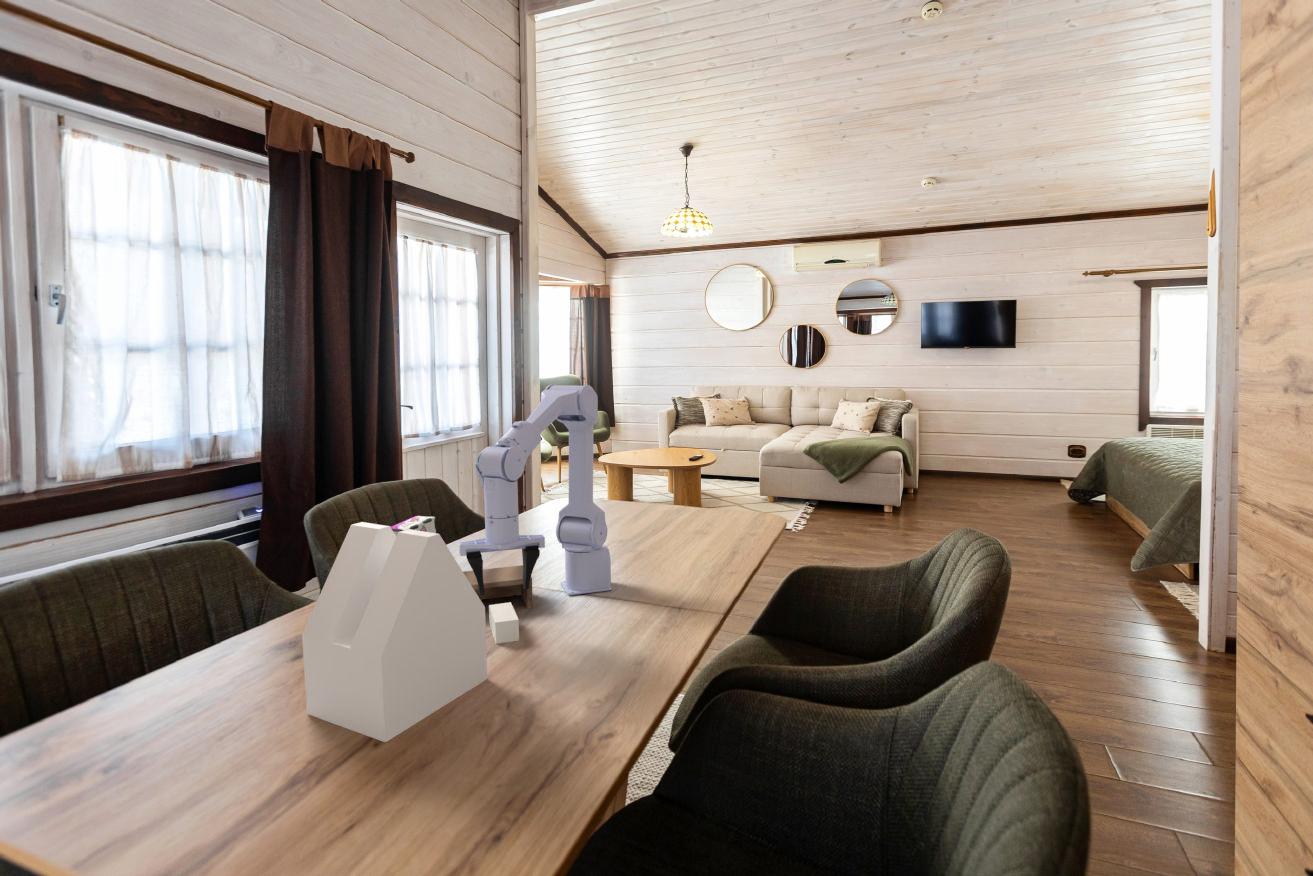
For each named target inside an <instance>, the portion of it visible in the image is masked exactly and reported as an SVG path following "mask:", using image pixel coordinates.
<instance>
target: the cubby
mask: <svg viewBox="0 0 1313 876" xmlns="http://www.w3.org/2000/svg"><path fill="white" fill-rule="evenodd" d="M463 573H464V574H465V576H466V578H467V579H468V581H469V582H470V584H471V586H472V587H473V589H474V591H475V592H476V594H477V595H478V597H479V599H480V600H481V601H482V600H488V599H490V600H491V599H497V598H504V597H505V596H507V597H513V595H515V596H521V597H522V599H523V600H524V601H523V602H525V605H526V608H527V609H528V608H530V607H531V608H533V607H534V605H533V604H534V603H533V602H534V601H533V599H534V597H533V595H534V594H533V577H532V576H531V578H530V583H529V589H527V590H525V589H524V587H523V564H522V565H513V566H504V567H493V568H483V583H484V595H480V593H479V587H478V582H477V579H476V576H475V574H474V572H473V570H466V571H463ZM505 598H506V597H505Z"/></svg>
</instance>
